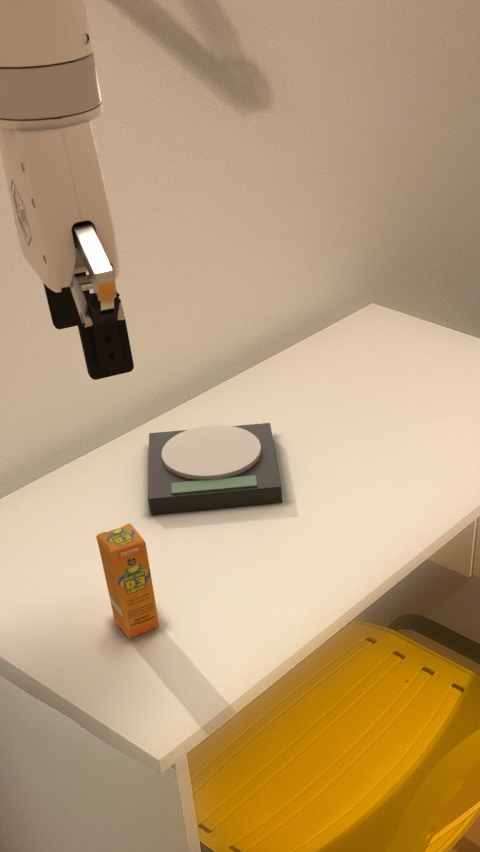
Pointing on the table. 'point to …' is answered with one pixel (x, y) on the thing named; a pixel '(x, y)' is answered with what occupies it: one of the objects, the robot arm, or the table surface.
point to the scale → (212, 468)
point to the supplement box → (128, 580)
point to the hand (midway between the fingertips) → (92, 348)
